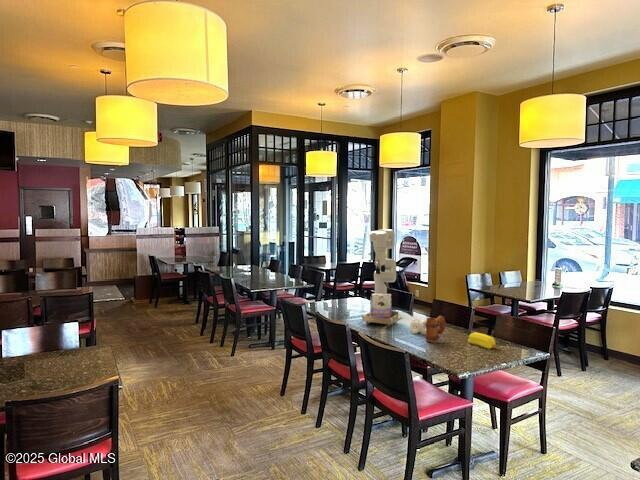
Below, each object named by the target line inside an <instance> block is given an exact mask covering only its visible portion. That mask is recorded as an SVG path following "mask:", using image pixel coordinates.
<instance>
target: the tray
mask: <svg viewBox="0 0 640 480" xmlns="http://www.w3.org/2000/svg"><path fill="white" fill-rule="evenodd" d="M370 310H371V311H369V312H367V313H365V314H363V315H362V316H361V320H362V322H366V323H369V322H372V323H376V324H381V325H382V324H384V326H386V325H388V324H389V325H390V324H391V323H393V322H394V321H396V320H398V317H399V311H396V310H391V318H377V317H371V315H372V307H370ZM398 321H399V320H398ZM396 322H397V321H396ZM366 323H365V324H366ZM393 324H394V323H393ZM390 326H391V325H390Z"/></svg>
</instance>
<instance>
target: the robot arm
mask: <svg viewBox="0 0 640 480" xmlns="http://www.w3.org/2000/svg"><path fill="white" fill-rule="evenodd" d="M369 241H370V242H372V245H373V251H374V253H375V258H374V265H375V271H374V272H373V280H374V294H388V293H387V292H388V287H387V286H386V284H385V283H395V282H396V280H397V262H396V260H395V259H394V258H393V259H392V258H387V257H388V256H387V253H386V252H387V250H390V249H394V248H395V246H396V234H395V231H394V230H393V229H389V228H387V229H386V228H385V229H384V228H382V229H381V228H380V229H378V230H372V231H369Z"/></svg>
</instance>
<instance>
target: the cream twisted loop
mask: <svg viewBox="0 0 640 480" xmlns="http://www.w3.org/2000/svg"><path fill="white" fill-rule="evenodd" d="M426 321H427V319H424V320H421V319H420V318H413V319H412V320H411V321H410V323H409V331H410V333H411V334H414V335H417V334H419V333H421V335H426V325H425V323H426Z"/></svg>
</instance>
